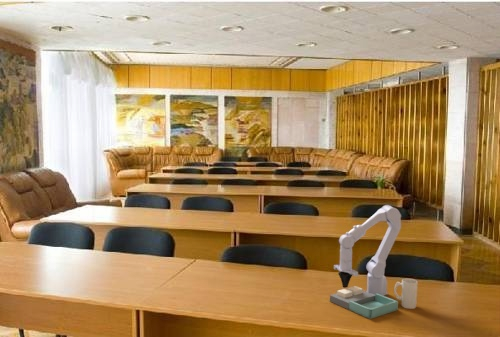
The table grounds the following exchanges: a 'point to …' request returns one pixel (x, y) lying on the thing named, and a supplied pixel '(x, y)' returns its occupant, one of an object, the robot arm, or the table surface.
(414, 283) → the mug
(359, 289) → the tile
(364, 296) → the grey flat slab
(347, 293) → the tile
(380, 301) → the tray
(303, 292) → the table surface
